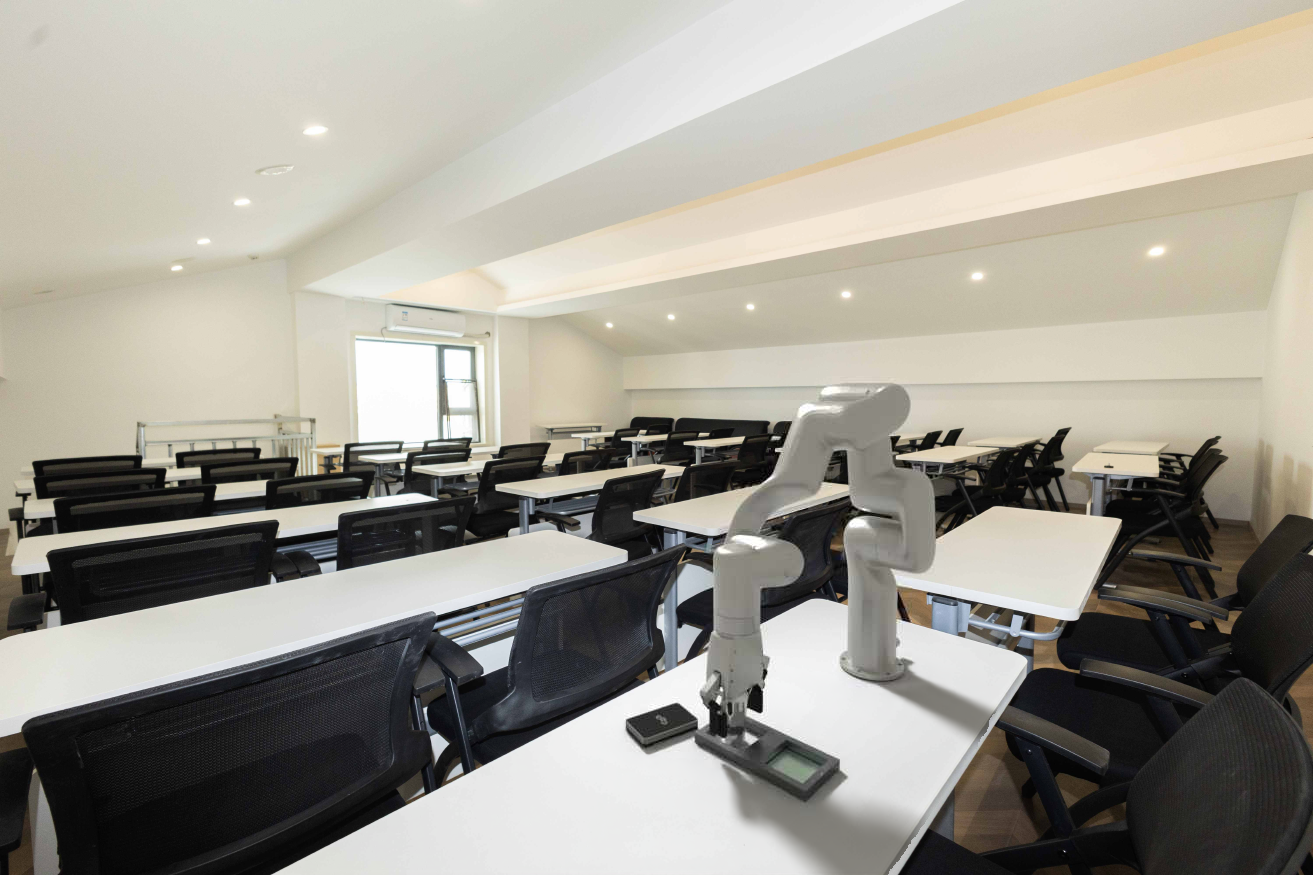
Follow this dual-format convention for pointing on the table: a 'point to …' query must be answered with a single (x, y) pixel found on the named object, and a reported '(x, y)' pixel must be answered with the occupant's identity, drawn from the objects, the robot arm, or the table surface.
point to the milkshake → (736, 719)
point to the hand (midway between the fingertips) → (736, 721)
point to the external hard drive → (661, 724)
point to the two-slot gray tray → (777, 759)
